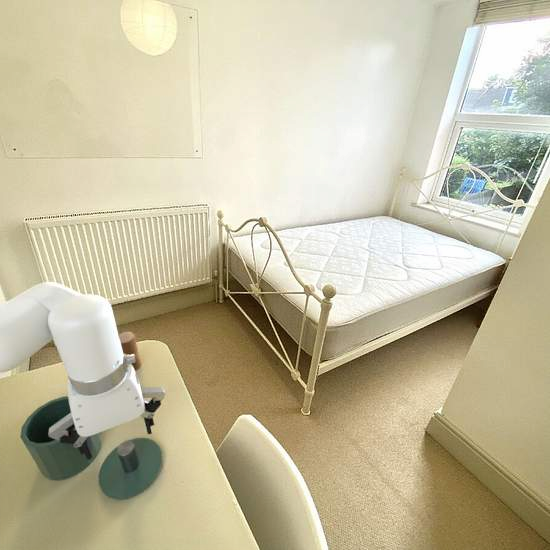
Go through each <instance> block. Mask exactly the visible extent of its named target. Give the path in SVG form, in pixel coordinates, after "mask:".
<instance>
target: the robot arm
mask: <svg viewBox="0 0 550 550" xmlns="http://www.w3.org/2000/svg"><path fill="white" fill-rule="evenodd" d="M119 334H120V333H119V330H118V327H117V323H116V318H115V314H114V311H113V307H112V304H111V303H110V301H109V300H108V299H106V298H105V297H104V296H102V295H98V294H93V293H87V294H85V293H84V294H83V293H81V292H79V291H77V290H74V289H72V288H70V287H68V286H66V285H64V284H61V283H59V282H55V281H44V282H40V283H37V284H35V285H33V286H31V287H30V288H28V289H26V290H25V291H23V292H21V293H19V294H17V295H16V296H14V297H12V298H10V299H9V300H7V301H5V302H3V303H1V304H0V374H3V373H6V372H10V371H12V370H14V369H16V368H18V367H19V366H21V365H22V364H23V363H25V362H26V361H28V360H29V359H30V358H31V357H32V356H34V355H35V354H36V353H37V352H38V351H40V350H41V349H42V348H44V346H45V347H46V345H48V344H49V343H50V342H51V341H52V340H53V341H54V344H55V346H56V349H57V352H58V354H59V356H60V360H61V362H62V365H63V367H64V370H65V372H66V375H67V378H68V381H67V383H66V390H67V392H66V393H67V396H68V399H69V405H70V410H71V413H69V414H68V415H67V416H65V417H64V418H63V419H61V420H60V421H58V422H57V423H56V424H54V425H53V426H51V427H50V428H49V437H51V438H53V439H55V440H60V443H65V444H74V447H78V449H79V451H80V453H81V455H82V454H84V453H85V455H86V458H87V460H90V459H91V458H92V444H91V441H90V438H89V436H91V435H94V434H97V433H99V434H100V433H103V432H105V431H108V430H110V429H113V428H115V427H118V426H121V425H123V424H125V423H129V422H130V421H133V420H135V419H137V418H139V417H141V418H143V420H144V424H145V429H146V433H147V435H152V434H153V433H152V428H151V427H154V426H155V421H154V417H155V413H156V411H157V410H158V409H159V408H160V407H161V406H162V401H163V400H164V398H165V395H166V391H165V388H164V387H162V386H159V387H157V386H156V387H155V386H153V387H142V385H141V383H140V380H139V377H138V375H137V371H135V370H134V368H133V366H132V364H131V363H134V362H136V360H135V356H134V354H131V355H129V354H128V355H126V353H125V354H123V350H122V346H121V342H120V338H119ZM145 399H150V401H148V400H145ZM73 424H74V425H75V430H70V429H67V428H68V427H70V426H71V425H73Z"/></svg>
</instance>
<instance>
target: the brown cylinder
mask: <svg viewBox="0 0 550 550" xmlns="http://www.w3.org/2000/svg"><path fill="white" fill-rule="evenodd" d="M118 334H119V338H120V342H121V346H122V350H123V354H125V353H126V355H128V354H129V355H131V354H134V356H135V360H136V362H134V363H131V364H132V366H133V368H134V370H135V372H137V371H138V370H139V369H140V368H141V366H142V361H141V356H140V352H139V349H138V345H137V340H136V336H135V333H134V332H132V331H124V332H121V333H118Z"/></svg>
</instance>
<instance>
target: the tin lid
mask: <svg viewBox="0 0 550 550" xmlns="http://www.w3.org/2000/svg"><path fill="white" fill-rule="evenodd" d="M162 465H163V452H162V449H161V447H160V445H159V444H158V443H157V442H155V441H154V440H153V439H150V438H148V437H136V438H131V439H128V440H125V441H123V442H121V443H120V444H119V445H118V446H116V447H115V448H113V449H112V451H110V453H109V454H108V455H107V456H106V458H105V459H104V460H103V462H102V464H101V466H100V469H99V471H98V486H99V488H100V490H101V492H102V493H103V494H104V495H105V496H106V497H107V498H110V499H113V500H116V501H120V500H127V499H131V498H134V497H136V496H138V495H139V494H141V493H143V492H144V491H146V490H147V489H148V488H149V487H150V486H151V485H152V484H153V483H154V481H155V480H156V479H157V477H158V476H159V474H160V472H161V469H162Z"/></svg>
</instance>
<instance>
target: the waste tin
mask: <svg viewBox="0 0 550 550" xmlns="http://www.w3.org/2000/svg"><path fill="white" fill-rule="evenodd" d="M69 413H71V410H70V405H69V399H68V395H65V396H61V397H57V398H55V399H52V400H50V401H47V402H46V403H44V404H43V405H40V406H39V407H37V408H36V409H35V410H34V411H33V412H32V413H31V414H30V415H29V416H28V417H27V418H26V419H25V422H24V423H23V425H22V426H21V430H20V440H21V441H22V443H23V444H24V446H25V448H26V450H27V451H28V452H29V454H30V456H31V457H32V459H33V461H34V462H35V464H36V466H37V467H38V469H39V471H40V473H41V474H42V476H43V477H44V478H46V479H47V480H50V481H64V480H67V479H70V478H72V477H75V476H76V475H78V474H80V473H82V472H83V471H84V470H86V469H87V468H88V467H89V466H90V465H91V464H92V463H93V462H94V460H95V459H96V458H97V456H98V455H99V452H100V450H101V447H102V440H101V434H100V433H97V434H94V435H91V436H89V438H90V441H91V444H92V458H91V459H90V460H87V458H86V455H85V453H84V454H82V455H81V453H80V451H79V449H78V447H74V444H65V443H60V440H55V439H53V438H51V437H49V428H50V427H51V426H53V425H54V424H56V423H57V422H58V421H60V420H61V419H63V418H64V417H65V416H67V415H68V414H69ZM67 429H70V430H75V425H74V424H73V425H71V426H70V427H68V428H67Z"/></svg>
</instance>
